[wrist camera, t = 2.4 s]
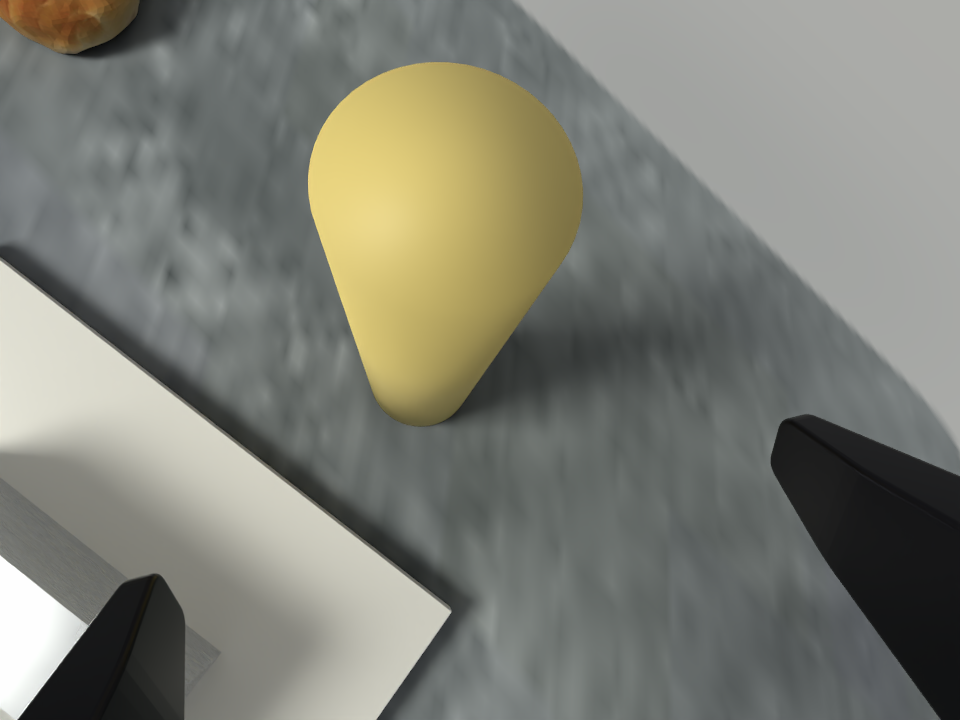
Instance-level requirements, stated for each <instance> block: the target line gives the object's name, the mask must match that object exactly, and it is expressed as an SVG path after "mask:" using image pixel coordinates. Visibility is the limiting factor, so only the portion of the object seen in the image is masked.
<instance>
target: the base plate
mask: <svg viewBox="0 0 960 720" xmlns="http://www.w3.org/2000/svg"><path fill="white" fill-rule="evenodd" d="M0 478H1V479H3V480H4V481H5V482H6V483H8V484H9V485H10V486H12V487H13V488H14V489H15V490H17V491H18V492H19V493H20V494H22V495H23V496H24V497H25V498H27V499H28V500H29V501H31V502H32V503H33V504H34V505H36V506H37V507H38V508H39V509H41V510H42V511H43V512H44V513H46V514H47V515H48V516H50V517H51V518H52V519H53V520H55V521H56V522H57V523H58V524H60V525H61V526H62V527H63V528H65V529H66V530H67V531H69V532H70V533H71V534H72V535H74V536H75V537H76V538H77V539H79V540H80V541H81V542H82V543H84V544H85V545H86V546H87V547H89V548H90V549H91V550H93V551H94V552H95V553H96V554H98V555H99V556H100V557H101V558H103V559H104V560H105V561H106V562H108V563H109V564H110V565H112V566H113V567H114V568H115V569H117V570H118V571H119V572H120V573H122V574H123V575H124V576H125V577H127V578H128V579H131V578H135V577H139V576H143V575H148V574H152V573H157V574H160V575H161V576H162V577H163V578H164V579H165V581H166V583H167V584H168V586H169V588H170V589H171V591H172V592H173V594H174V596H175V597H176V599H177V601H178V602H179V604H180V606H181V608H182V610H183V613H184V617H185V624H186V625H187V626H189V627H190V628H191V629H193V630H194V631H195V632H196V633H198V634H199V635H200V636H201V637H203V638H204V639H205V640H206V641H208V642H209V643H210V644H212V645H213V646H214V647H215V648H217V649H218V650H219V651H220V652H221V654H220V655H219V656H218V658H217V659H216V660H215V661H214V663H213V664H212V665H211V666H210V668H209V669H208V670H207V671H206V673H205V674H204V675H203V677H202V678H201V679H200V680H199V682H198V683H197V684H196V685H195V687H194V688H193V689H192V691H191V692H190V693H189V694H188V696H187V697H186V698H185V714H184V720H376V719H377V718H378V716H379V715H380V713H381V712H382V711H383V709H384V708H385V706H386V705H387V703H388V702H389V701H390V699H391V698H392V696H393V695H394V693H395V692H396V691H397V689H398V688H399V686H400V685H401V683H402V682H403V681H404V679H405V678H406V676H407V675H408V673H409V672H410V671H411V669H412V668H413V666H414V665H415V664H416V662H417V661H418V659H419V658H420V656H421V655H422V654H423V652H424V651H425V649H426V648H427V646H428V645H429V644H430V642H431V641H432V639H433V638H434V636H435V635H436V634H437V632H438V631H439V629H440V628H441V626H442V625H443V624H444V622H445V621H446V619H447V618H448V616H449V615H450V614H451V612H452V611H451V608H450V606H449V605H447V604H446V603H445V602H443V601H442V600H441V599H440V598H438V597H437V596H436V595H434V594H433V593H432V592H431V591H429V590H428V589H427V588H425V587H424V586H423V585H422V584H420V583H419V582H418V581H416V580H415V579H414V578H413V577H411V576H410V575H409V574H407V573H406V572H405V571H404V570H402V569H401V568H400V567H398V566H397V565H396V564H395V563H393V562H392V561H391V560H389V559H388V558H387V557H386V556H384V555H383V554H382V553H380V552H379V551H378V550H377V549H375V548H374V547H373V546H371V545H370V544H369V543H368V542H366V541H365V540H364V539H362V538H361V537H360V536H359V535H357V534H356V533H355V532H353V531H352V530H351V529H350V528H348V527H347V526H346V525H344V524H343V523H342V522H341V521H339V520H338V519H337V518H335V517H334V516H333V515H332V514H330V513H329V512H328V511H326V510H325V509H324V508H323V507H321V506H320V505H319V504H317V503H316V502H315V501H314V500H312V499H311V498H310V497H308V496H307V495H306V494H305V493H303V492H302V491H301V490H299V489H298V488H297V487H296V486H294V485H293V484H292V483H290V482H289V481H288V480H287V479H285V478H284V477H283V476H281V475H280V474H279V473H278V472H276V471H275V470H274V469H272V468H271V467H270V466H269V465H267V464H266V463H265V462H263V461H262V460H261V459H260V458H258V457H257V456H256V455H254V454H253V453H252V452H251V451H249V450H248V449H247V448H245V447H244V446H243V445H242V444H240V443H239V442H238V441H236V440H235V439H234V438H233V437H231V436H230V435H229V434H227V433H226V432H225V431H224V430H222V429H221V428H220V427H218V426H217V425H216V424H215V423H213V422H212V421H211V420H209V419H208V418H207V417H206V416H204V415H203V414H202V413H200V412H199V411H198V410H197V409H195V408H194V407H193V406H191V405H190V404H189V403H188V402H186V401H185V400H184V399H182V398H181V397H180V396H179V395H177V394H176V393H175V392H173V391H172V390H171V389H170V388H168V387H167V386H166V385H164V384H163V383H162V382H161V381H159V380H158V379H157V378H155V377H154V376H153V375H152V374H150V373H149V372H148V371H146V370H145V369H144V368H143V367H141V366H140V365H139V364H137V363H136V362H135V361H134V360H132V359H131V358H130V357H128V356H127V355H126V354H125V353H123V352H122V351H121V350H119V349H118V348H117V347H116V346H114V345H113V344H112V343H110V342H109V341H108V340H107V339H105V338H104V337H103V336H101V335H100V334H99V333H98V332H96V331H95V330H94V329H92V328H91V327H90V326H89V325H87V324H86V323H85V322H83V321H82V320H81V319H80V318H78V317H77V316H76V315H74V314H73V313H72V312H71V311H69V310H68V309H67V308H65V307H64V306H63V305H62V304H60V303H59V302H58V301H56V300H55V299H54V298H53V297H51V296H50V295H49V294H47V293H46V292H45V291H44V290H42V289H41V288H40V287H38V286H37V285H36V284H35V283H33V282H32V281H31V280H29V279H28V278H27V277H26V276H24V275H23V274H22V273H20V272H19V271H18V270H17V269H15V268H14V267H13V266H11V265H10V264H9V263H8V262H6V261H5V260H4V259H2V258H1V257H0ZM0 720H14V719H13V718H12V717H11V716H9V715H8V714H7V713H6V712H4V711H3V710H2V709H1V708H0Z"/></svg>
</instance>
